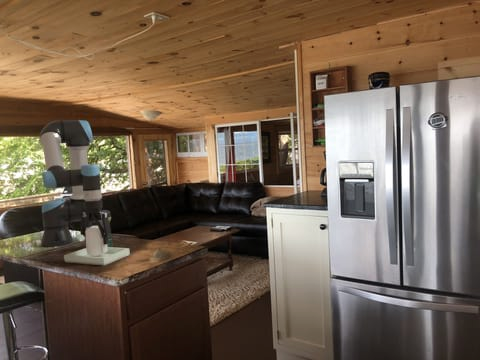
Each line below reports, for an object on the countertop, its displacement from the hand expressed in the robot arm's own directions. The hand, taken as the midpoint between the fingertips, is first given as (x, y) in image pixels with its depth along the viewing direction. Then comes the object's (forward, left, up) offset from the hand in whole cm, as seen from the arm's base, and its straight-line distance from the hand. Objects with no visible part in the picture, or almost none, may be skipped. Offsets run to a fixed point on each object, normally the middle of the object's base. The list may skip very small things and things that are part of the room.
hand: (97, 251), depth 171 cm
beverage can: (0, 0, -1) cm, 1 cm away
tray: (0, 0, -3) cm, 3 cm away
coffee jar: (-12, +16, -4) cm, 20 cm away
